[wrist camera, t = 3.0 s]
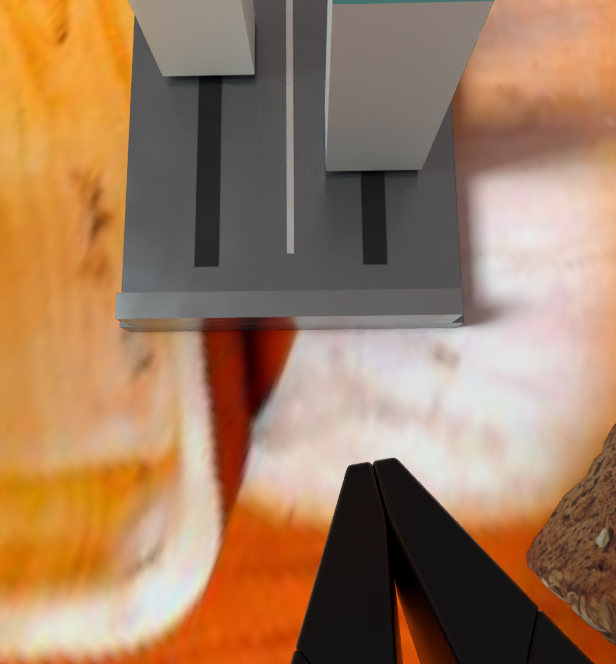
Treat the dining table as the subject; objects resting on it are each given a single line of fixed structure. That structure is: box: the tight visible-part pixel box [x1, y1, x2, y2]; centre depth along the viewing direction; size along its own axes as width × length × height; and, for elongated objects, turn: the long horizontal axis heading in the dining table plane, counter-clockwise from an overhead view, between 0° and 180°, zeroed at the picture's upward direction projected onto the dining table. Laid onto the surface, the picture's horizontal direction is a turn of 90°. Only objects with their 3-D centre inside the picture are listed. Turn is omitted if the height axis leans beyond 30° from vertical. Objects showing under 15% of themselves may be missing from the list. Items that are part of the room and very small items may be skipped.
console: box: [115, 0, 464, 332], centre depth 22 cm, size 20×14×3 cm
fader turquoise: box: [325, 0, 494, 171], centre depth 17 cm, size 3×4×10 cm
